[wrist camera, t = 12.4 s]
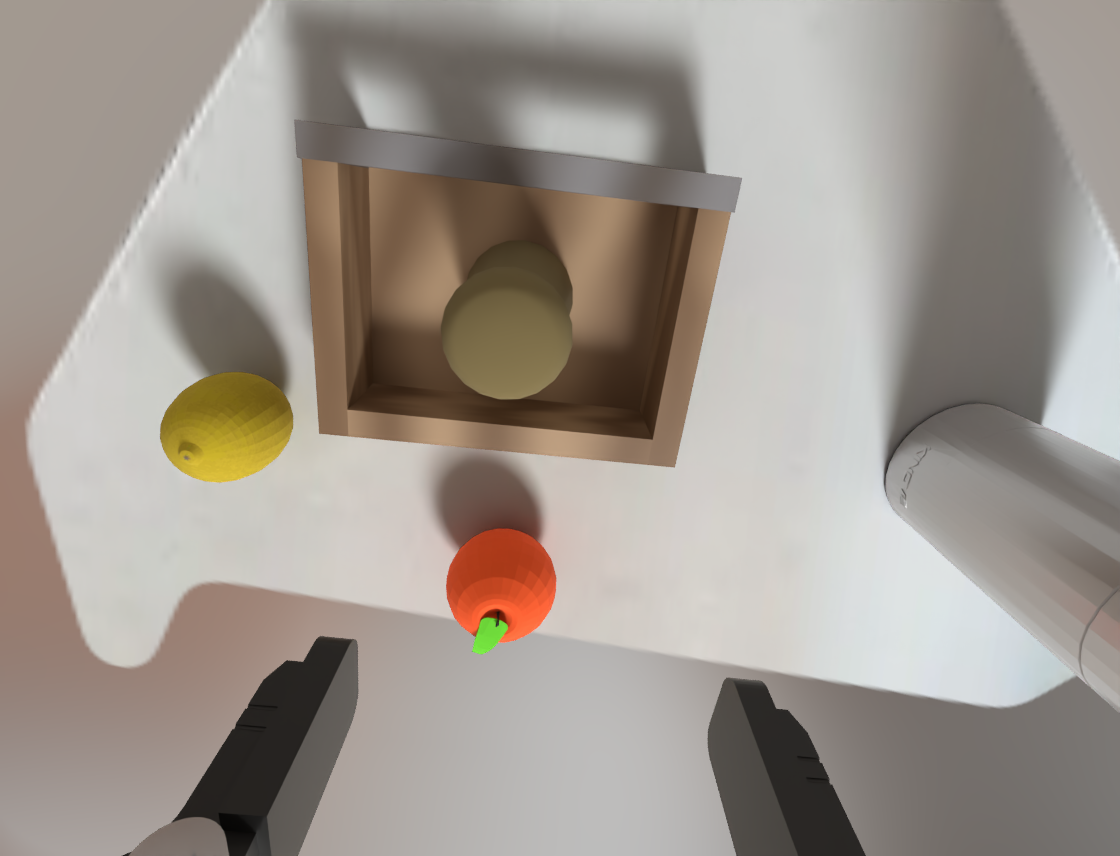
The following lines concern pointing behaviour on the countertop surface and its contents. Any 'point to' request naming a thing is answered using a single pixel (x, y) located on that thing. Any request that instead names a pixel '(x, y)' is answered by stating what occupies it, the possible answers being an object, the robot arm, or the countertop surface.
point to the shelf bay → (443, 265)
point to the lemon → (226, 427)
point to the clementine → (500, 586)
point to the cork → (510, 321)
